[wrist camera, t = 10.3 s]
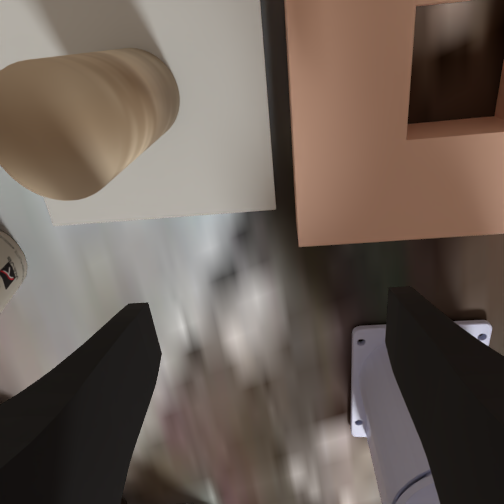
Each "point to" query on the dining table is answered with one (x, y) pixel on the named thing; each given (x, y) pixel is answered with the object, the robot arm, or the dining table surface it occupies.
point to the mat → (191, 101)
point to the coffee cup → (10, 268)
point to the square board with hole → (380, 133)
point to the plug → (82, 118)
